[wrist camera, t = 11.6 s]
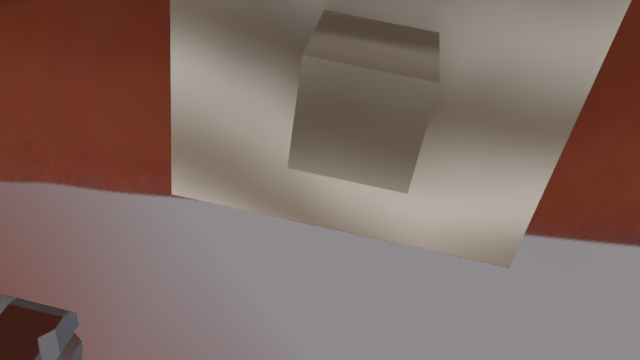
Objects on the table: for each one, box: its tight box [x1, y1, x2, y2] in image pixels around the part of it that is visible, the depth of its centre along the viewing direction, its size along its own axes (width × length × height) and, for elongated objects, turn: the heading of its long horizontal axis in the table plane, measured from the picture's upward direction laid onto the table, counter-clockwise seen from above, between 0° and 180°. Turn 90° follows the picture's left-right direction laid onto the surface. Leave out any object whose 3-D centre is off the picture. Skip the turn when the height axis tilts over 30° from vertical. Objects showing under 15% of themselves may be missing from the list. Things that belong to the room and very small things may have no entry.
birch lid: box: [170, 0, 631, 268], centre depth 20 cm, size 15×15×5 cm
